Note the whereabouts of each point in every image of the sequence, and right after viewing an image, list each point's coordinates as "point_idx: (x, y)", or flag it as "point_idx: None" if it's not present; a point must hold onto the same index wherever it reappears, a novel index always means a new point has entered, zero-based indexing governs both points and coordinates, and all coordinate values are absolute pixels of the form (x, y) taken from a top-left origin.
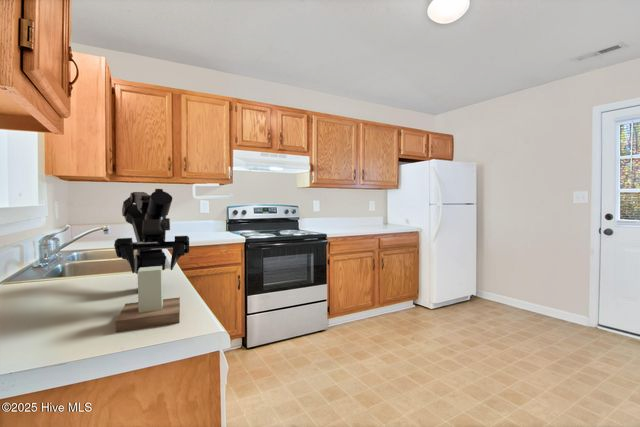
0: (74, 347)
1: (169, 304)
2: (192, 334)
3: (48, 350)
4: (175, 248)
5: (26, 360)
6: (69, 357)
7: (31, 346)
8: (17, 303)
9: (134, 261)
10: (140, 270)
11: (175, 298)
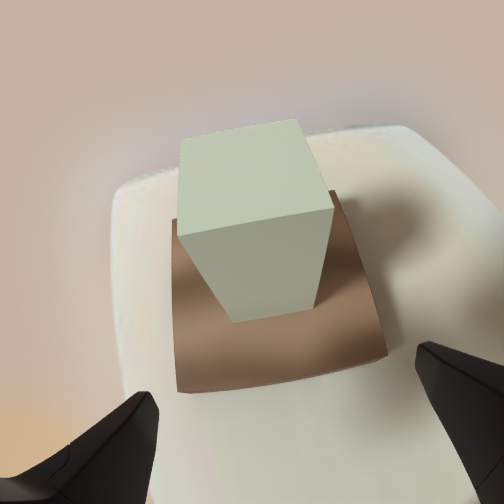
0: (375, 166)
1: (206, 304)
2: (159, 181)
3: (412, 167)
4: (14, 492)
5: (414, 146)
6: (355, 138)
7: (453, 189)
8: None
9: (476, 482)
10: (292, 136)
11: (192, 381)
